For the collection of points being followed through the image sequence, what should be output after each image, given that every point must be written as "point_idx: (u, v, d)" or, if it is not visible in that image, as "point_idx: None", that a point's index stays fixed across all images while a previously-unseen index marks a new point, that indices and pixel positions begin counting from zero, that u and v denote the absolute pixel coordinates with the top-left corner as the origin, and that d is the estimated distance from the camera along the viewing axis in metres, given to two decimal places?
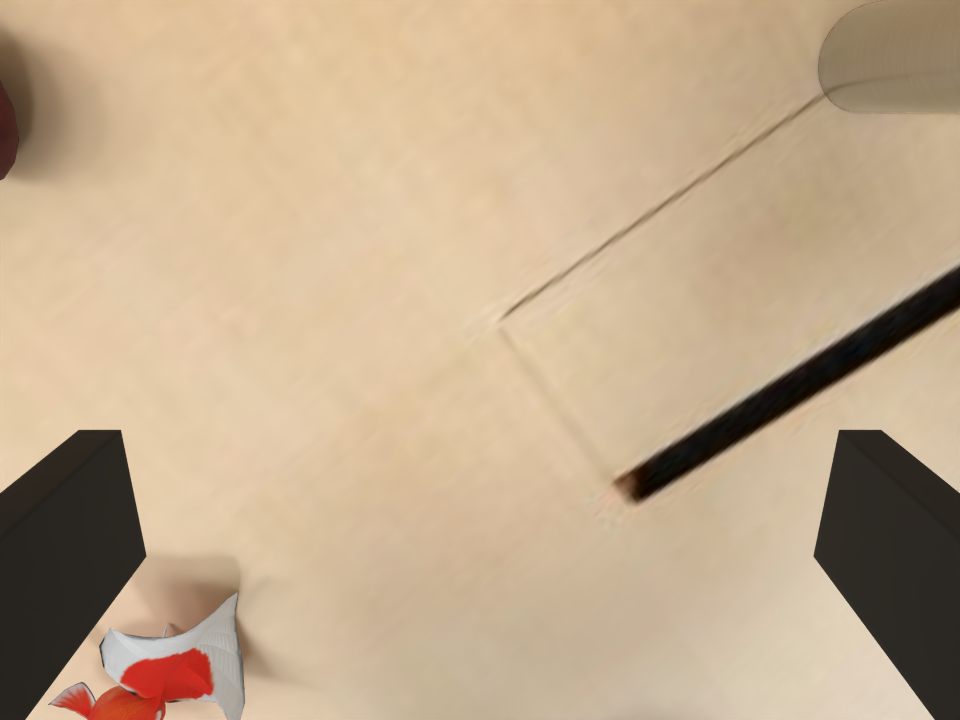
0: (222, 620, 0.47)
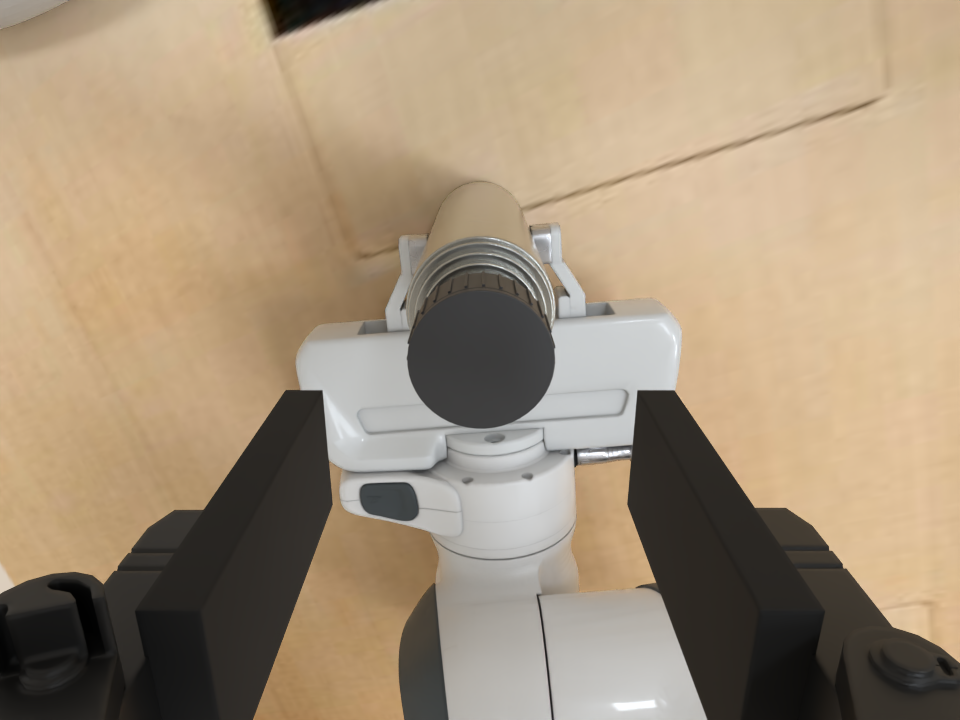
0: None
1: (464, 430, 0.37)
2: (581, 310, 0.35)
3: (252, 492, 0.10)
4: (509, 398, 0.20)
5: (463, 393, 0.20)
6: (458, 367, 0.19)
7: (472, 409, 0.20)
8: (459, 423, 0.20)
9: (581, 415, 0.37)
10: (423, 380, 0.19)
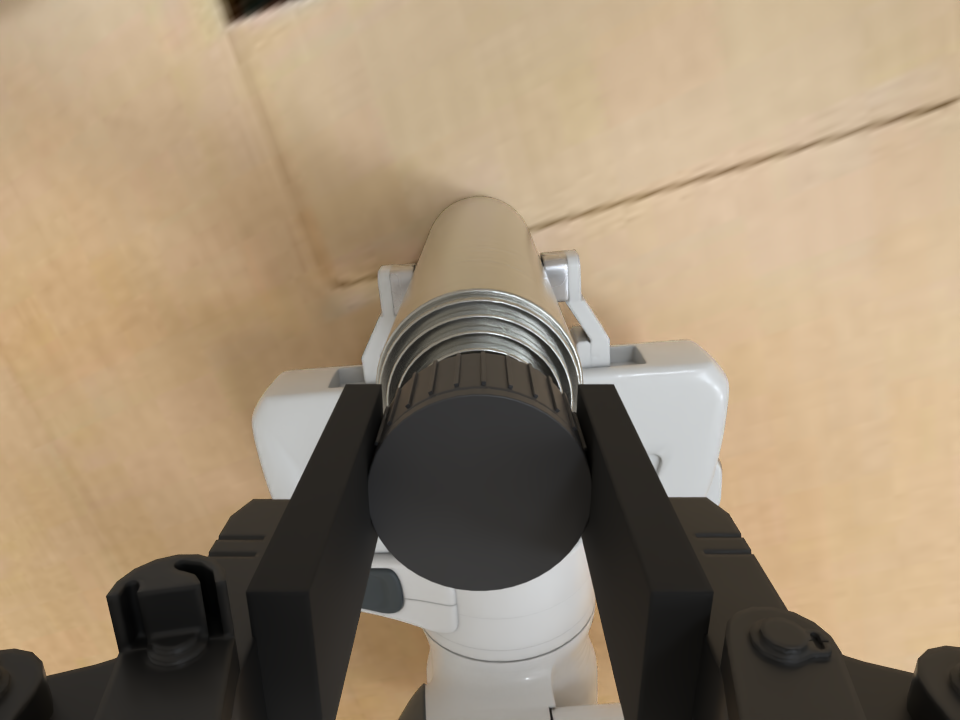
0: None
1: None
2: (604, 358, 0.28)
3: (334, 481, 0.11)
4: (522, 549, 0.13)
5: (453, 542, 0.13)
6: (444, 506, 0.13)
7: (466, 564, 0.13)
8: (447, 584, 0.13)
9: None
10: (391, 524, 0.13)
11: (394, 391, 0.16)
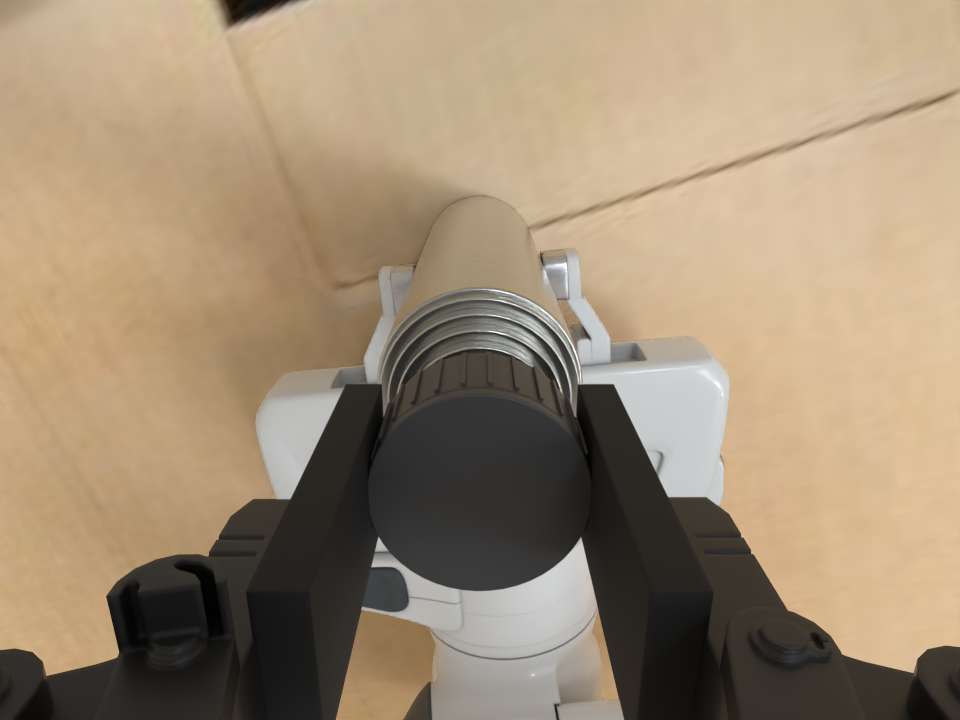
0: None
1: None
2: (605, 355, 0.28)
3: (334, 481, 0.10)
4: (498, 433, 0.12)
5: (537, 488, 0.12)
6: (509, 517, 0.13)
7: (550, 463, 0.12)
8: (582, 463, 0.12)
9: None
10: (557, 540, 0.13)
11: (395, 390, 0.17)
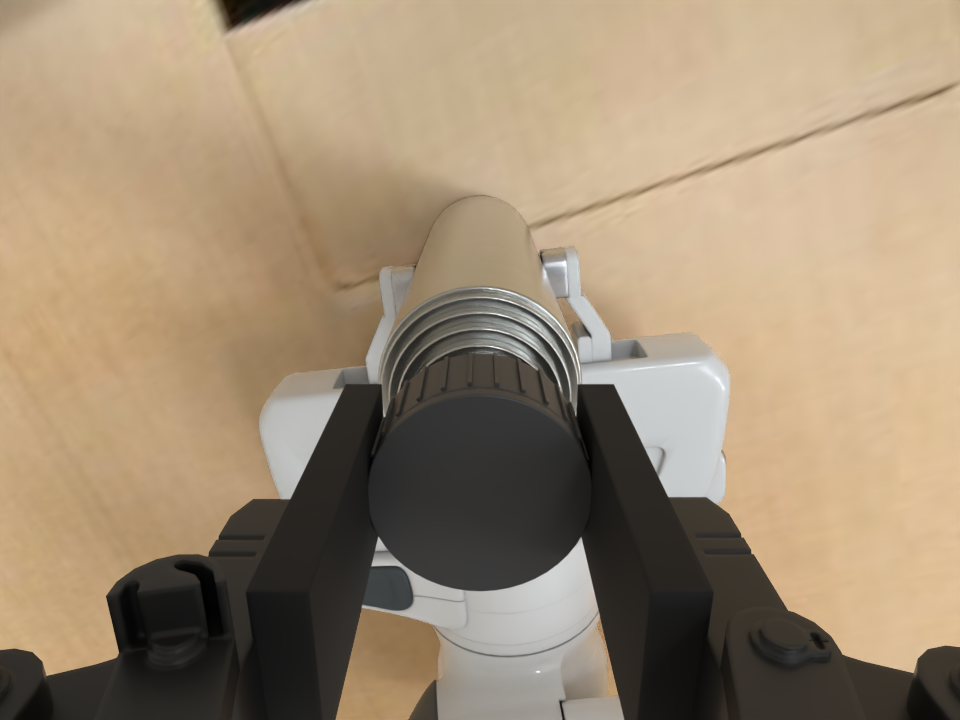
0: None
1: None
2: (606, 353, 0.29)
3: (334, 481, 0.10)
4: (414, 527, 0.13)
5: (432, 467, 0.12)
6: (477, 467, 0.12)
7: (403, 475, 0.12)
8: (381, 453, 0.12)
9: None
10: (465, 414, 0.12)
11: (395, 389, 0.17)
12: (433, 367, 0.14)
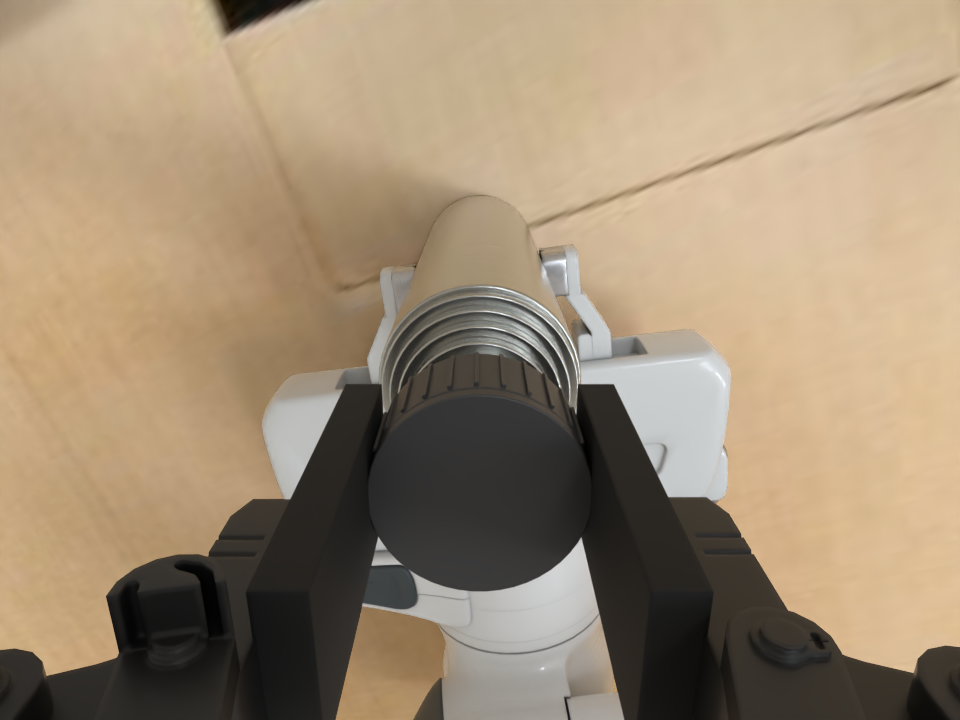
0: None
1: None
2: (606, 350, 0.29)
3: (334, 481, 0.10)
4: (547, 524, 0.13)
5: (482, 548, 0.13)
6: (454, 521, 0.13)
7: (506, 562, 0.13)
8: (501, 587, 0.13)
9: None
10: (419, 558, 0.13)
11: (396, 387, 0.17)
12: None
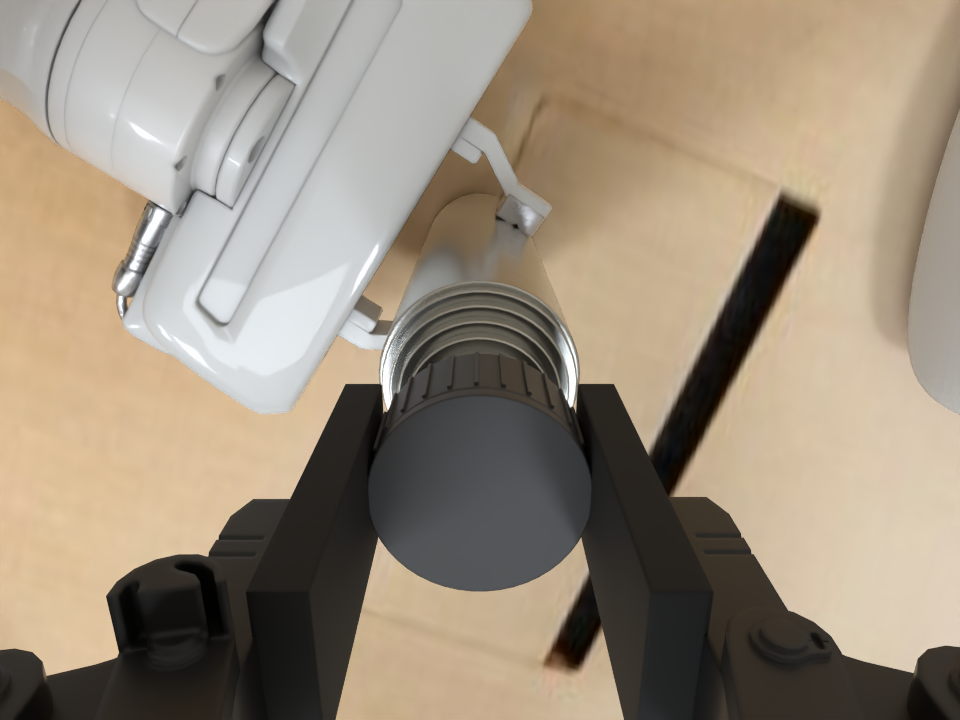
0: None
1: (287, 113, 0.25)
2: (346, 334, 0.29)
3: (334, 481, 0.11)
4: (547, 524, 0.13)
5: (481, 548, 0.13)
6: (454, 520, 0.13)
7: (506, 561, 0.13)
8: (500, 586, 0.13)
9: (221, 259, 0.27)
10: (419, 558, 0.13)
11: (541, 339, 0.17)
12: None
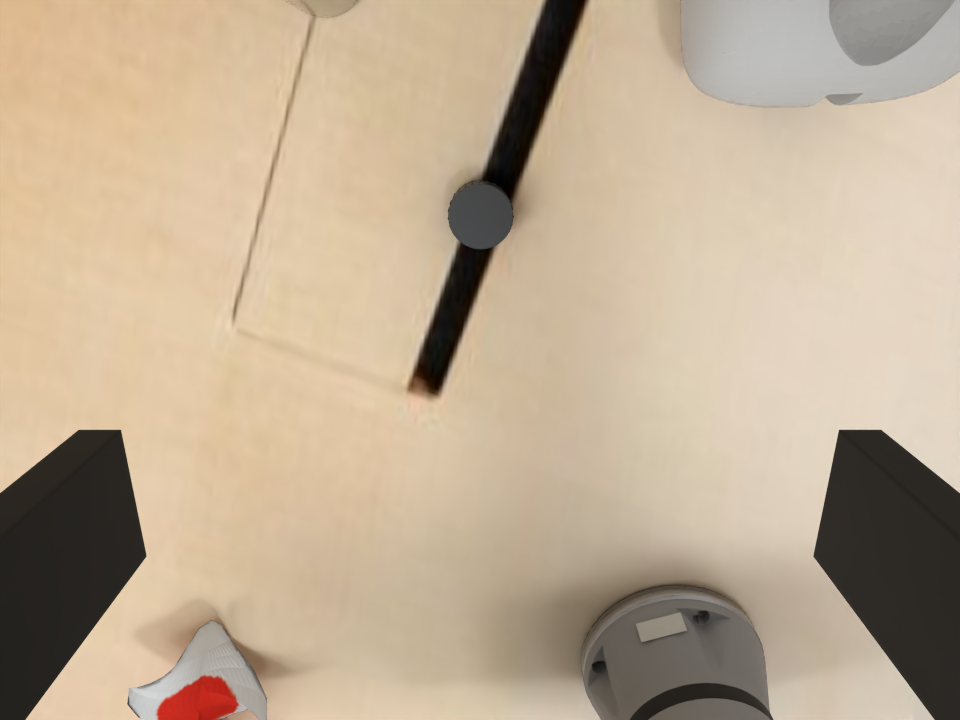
0: (218, 647, 0.58)
1: None
2: None
3: None
4: (500, 225, 0.44)
5: (481, 233, 0.45)
6: (473, 224, 0.44)
7: (488, 238, 0.45)
8: (486, 247, 0.45)
9: None
10: (463, 237, 0.45)
11: None
12: None
